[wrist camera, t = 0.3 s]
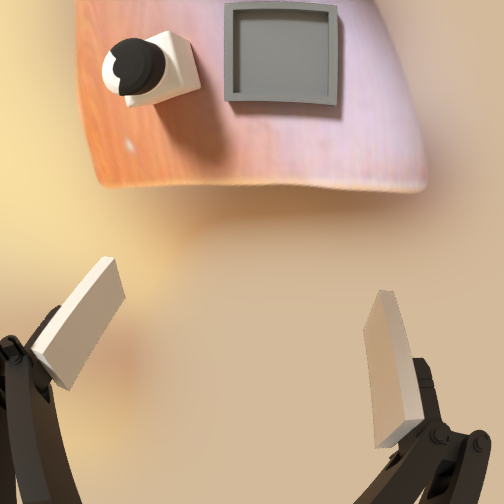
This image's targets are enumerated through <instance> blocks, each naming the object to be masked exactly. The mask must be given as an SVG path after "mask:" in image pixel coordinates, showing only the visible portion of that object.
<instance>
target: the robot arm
mask: <svg viewBox="0 0 504 504" xmlns="http://www.w3.org/2000/svg"><path fill="white" fill-rule="evenodd" d="M125 298H126V297H125V294H124V291H123V287H122V284H121V280H120V277H119V273H118V270H117V265H116V262H115V258H112V257H105V256H103V257H102V258H101V259H100V260H99V262H98V263H97V264H96V265H95V266H94V267H93V269H92V270H91V271H90V272H89V273H88V274H87V276H86V277H85V278H84V279H83V280H82V281H81V283H80V284H79V285H78V286H77V288H76V289H75V290H74V291H73V292H72V294H71V295H70V296H69V298H68V299H67V300H66V301H65V302H64V304H63V305H62V306H60V305H58V306H57V307H55V308H54V309H52V310H51V311H50V312H49V314H48V315H47V316H46V318H45V320H43V321H42V323H41V324H40V326H39V327H38V328H37V329H36V331H35V332H34V334H33V335H32V336H31V337H30V339H29V340H28V342H27V343H26V344H25V346H24V347H23V346H22V344H21V343H20V341H19V340H18V338H17V337H16V336H13V335H8V336H6V337H4V338H3V339H2V340H1V341H0V504H17V498H16V478H17V482H18V487H19V491H20V495H21V498H22V502H23V504H82V502H81V499H80V496H79V494H78V491H77V488H76V485H75V482H74V479H73V476H72V473H71V470H70V466H69V463H68V460H67V456H66V452H65V449H64V445H63V441H62V437H61V432H60V428H59V423H58V419H57V414H56V409H55V403H54V397H53V391H52V386H51V384H50V382H51V380H52V379H53V380H54V382H55V383H56V384H57V385H58V386H60V387H62V388H64V389H66V390H68V391H70V389H71V387H72V385H73V384H74V382H75V380H76V378H77V377H78V375H79V373H80V371H81V369H82V368H83V366H84V364H85V362H86V361H87V359H88V357H89V356H90V354H91V352H92V351H93V349H94V347H95V345H96V344H97V342H98V341H99V339H100V337H101V336H102V334H103V332H104V331H105V329H106V328H107V326H108V324H109V322H110V321H111V320H112V318H113V316H114V315H115V313H116V312H117V310H118V309H119V306H120V305H121V304H122V302H123V301H124V299H125ZM363 331H364V338H365V344H366V353H367V360H368V368H369V377H370V387H371V397H372V408H373V421H374V438H375V448H391V447H393V446H394V445H396V444H397V443H398V446H399V450H398V451H396V452H395V453H394V454H392V455H391V456H390V457H389V459H391V460H390V461H389V462H388V464H387V465H386V466H385V468H384V469H383V470H382V471H381V473H380V474H379V475H378V476H377V477H376V479H375V480H374V481H373V482H372V483H371V484H370V486H369V487H368V488H367V489H366V490H365V491H364V492H363V494H362V495H361V496H360V497H359V498H358V499H357V500H356V501H355V502H354V503H353V504H414V502H415V501H416V500H417V498H418V497H419V495H420V494H421V492H422V491H423V489H424V488H425V489H424V492H423V494H422V497H421V499H420V501H419V504H477V503H478V500H479V497H480V493H481V490H482V486H483V482H484V479H485V474H486V470H487V466H488V460H489V456H490V451H491V439H490V436H489V435H488V434H487V433H486V432H485V431H483V430H476V431H474V432H472V433H471V434H470V435H466V434H461V433H457V432H453V431H451V430H450V427H449V426H448V425H446V423H443V421H442V419H441V415H440V410H439V405H438V400H437V395H436V391H435V389H434V382H433V380H432V374H431V370H430V367H429V366H428V364H427V363H426V361H425V360H424V358H412V356H411V351H410V347H409V344H408V340H407V336H406V332H405V328H404V325H403V321H402V318H401V314H400V311H399V307H398V305H397V301H396V298H395V295H394V292H393V291H382V290H379V292H378V294H377V297H376V300H375V302H374V305H373V307H372V310H371V313H370V315H369V318H368V320H367V322H366V325H365V327H364V330H363ZM15 474H16V478H15ZM425 486H426V487H425Z"/></svg>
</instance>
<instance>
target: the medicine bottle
mask: <svg viewBox="0 0 504 504" xmlns="http://www.w3.org/2000/svg"><path fill="white" fill-rule="evenodd" d="M102 76H103V81H104V83H105V85H106V87H107V88H108V89H109V90H110V91H111V92H112V93H114V94H116V95H120V96H124V97H125V101H126V104H127V107H137V106H145V105H154V104H157V103H159V102H162V101H165V100H168V99H171V98H173V97H176V96H179V95H182V94H185V93H188V92H191V91H195V90H198V89H200V88H201V83H200V80H199V76H198V72H197V68H196V65H195V61H194V57H193V53H192V50H191V46H190V42H189V41H188V40H186V39H184V38H182V37H180V36H178V35H176V34H174V33H172V32H170V31H165V32H163V33H160V34H158V35H156V36H153V37H151V38H149V39H146V40H142V39H138V38H130V39H126V40H123V41H121V42H119V43H118V44H116V45H115V46H114V47H113V48H112V49H111V50H110V51H109V53H108V54H107V56H106V58H105V60H104V63H103V68H102Z"/></svg>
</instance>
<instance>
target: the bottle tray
mask: <svg viewBox="0 0 504 504" xmlns="http://www.w3.org/2000/svg"><path fill="white" fill-rule="evenodd" d="M337 85H338V18H337V6H335V5H326V4H315V3H301V2H239V3H225V10H224V101H282V102H302V103H316V104H328V105H337Z"/></svg>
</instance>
